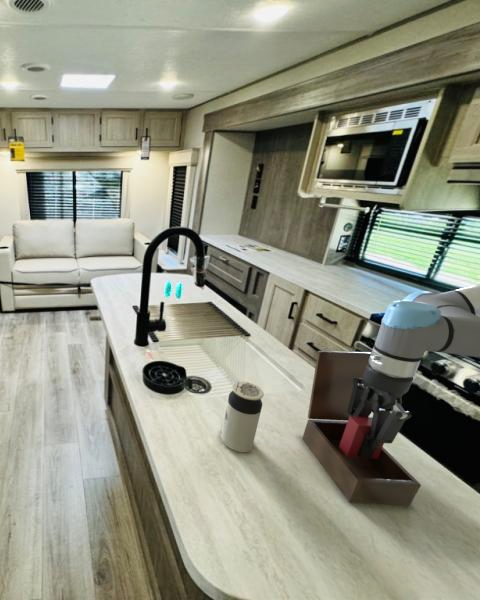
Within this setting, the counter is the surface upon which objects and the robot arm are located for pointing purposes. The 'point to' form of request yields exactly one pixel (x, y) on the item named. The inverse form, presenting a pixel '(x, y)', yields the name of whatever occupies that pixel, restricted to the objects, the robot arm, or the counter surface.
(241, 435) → the travel mug
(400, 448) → the counter surface
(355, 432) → the red rectangular brick
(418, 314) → the robot arm
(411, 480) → the chest
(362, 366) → the lid
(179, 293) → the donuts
